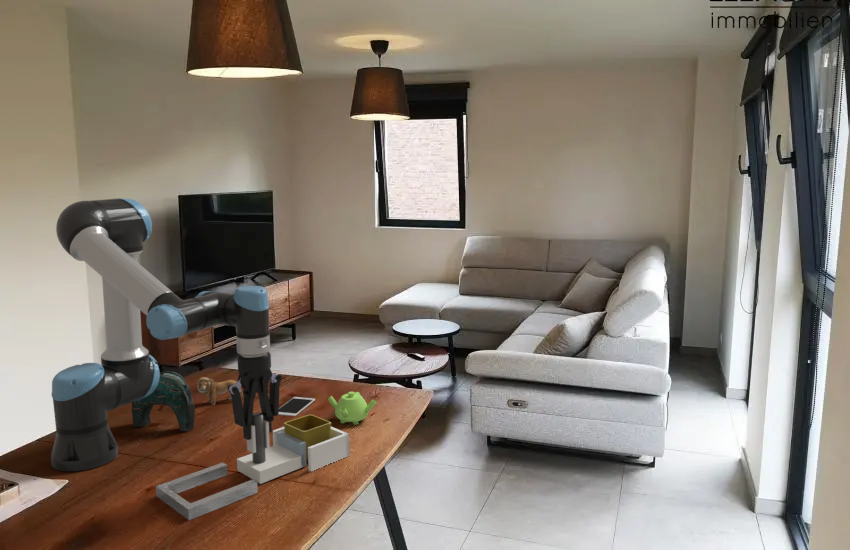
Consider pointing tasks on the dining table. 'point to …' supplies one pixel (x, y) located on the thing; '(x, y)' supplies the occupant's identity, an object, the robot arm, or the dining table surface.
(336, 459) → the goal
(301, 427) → the flower pot
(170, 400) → the teal arched figure
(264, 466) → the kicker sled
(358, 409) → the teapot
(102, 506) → the dining table surface
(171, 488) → the rail base
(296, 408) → the smartphone
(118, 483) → the dining table surface
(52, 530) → the dining table surface
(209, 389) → the lion figurine
